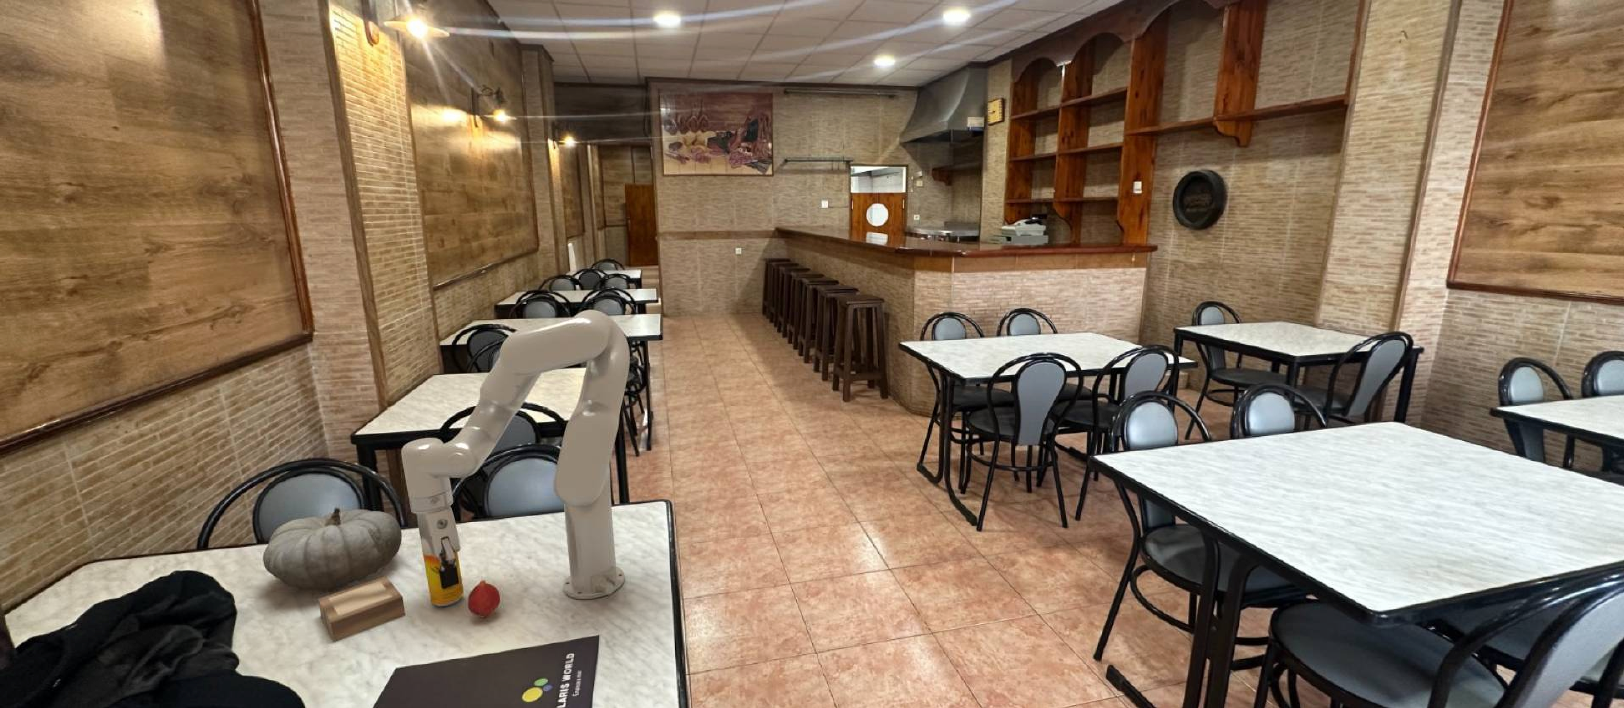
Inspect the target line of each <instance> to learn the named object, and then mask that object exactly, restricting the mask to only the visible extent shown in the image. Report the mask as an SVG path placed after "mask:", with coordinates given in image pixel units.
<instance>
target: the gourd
mask: <svg viewBox="0 0 1624 708" xmlns="http://www.w3.org/2000/svg"><path fill="white" fill-rule="evenodd" d="M402 537H403V535H402V529H401V526H400V524H399V522H398V520H397V519H396V518H395V517H394V516H393V515H391V514H389V513H387V512H383V511H379V510H378V511H376V510H373V511H372V510H368V509H361V508H359V509H358V508H356V509H344V510H341V508H340V507H339V506H335V508H334V510H333V512H331V513H328V514H325V515H324V516H318V517H316V516H312V517H311V516H310V517H304V518H297V519H291V520H290V521H287V522H286V523H284V524H282V525H281V526H278V527H277V528H276V529H275V530H274V532H273V533H272V534H271V536H270V538H269V541H268V544H267V546H266V547H265V548H264V551H263V555H262V560H263V561H262V562H263V566H264V568H265V570H266V571H267V572H268V573H269V574H271V575H272V576H274V577H275V578H276V579H277V580H279V581H280V582H281V583H282V584H283V585H285V586H287V587H290V588H293V589H296V590H302V591H311V590H312V591H314V592H332V591H333V592H334V591H336V590H338V589H344V588H345V587H347V586H349V584H353V583H356V582H358V581H359V582H360V581H362V580H364V579H366V578H368V577H370V576H371V575H373V574H375V573H377V572H378V571H379V570H381V569H383V568H385V567H386V566H387V565H389V563H390V562H391V561H393V559H394V558H395V557H396V555H397V554H398V552H399V550H400V548H401V545H402V541H403V540H402Z"/></svg>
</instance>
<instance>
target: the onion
mask: <svg viewBox="0 0 1624 708" xmlns="http://www.w3.org/2000/svg"><path fill="white" fill-rule="evenodd" d="M500 603H501V593H500V591H499V589H497V587H496V586H494V585H492V584H491V583H487V582H486V580H485V579H482V580H481V581H479V583H478V584H477V585H475V586H474V588H472V590H471V591H470V593H469V595H468V598H467V607H468V610H469V612H470V613H471V614H472V615H475V616H477V617H483V618H488V617H490V616H491V615H492V614H493V613H494V611H496V609H497V608H498V607H499V605H500Z"/></svg>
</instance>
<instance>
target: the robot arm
mask: <svg viewBox="0 0 1624 708" xmlns="http://www.w3.org/2000/svg"><path fill="white" fill-rule="evenodd" d="M630 357H631V356H630V346H629V344H628V340H627V337H626V335H625V333H624V331H623V330H622V328H621V327H620V325H619V324H618V323H617V322H616V321H615V320H614V319H613V318H611V317H610V316H609V315H608V314H606V313H604V312H603V311H600V310H596V309H587V310H583V311H581V312H579V313H577V314H576V315H574V316H573V317H572V318H571V319H568V320H565V321H561V322H557V323H554V324H552V325H551V324H550V325H547V326H544V327H539V326H534V325H528V326H524V327H520V328H519V329H517V330H515V331H514V332H512V333H511V334H510V335H508V336H507V337H506V338H505V340H503V343H502V345H501V347H500V350H499V357H498V359H497V360H496V362H495V363H494V365H493V366H492V368H491V370H490V372H489V373H488V374H487V376H486V377H485V379H484V380H483V382H482V383H481V385H480V387H479V399H478V402H477V404H476V406H475V408H474V409H473V411H472V412H471V414H470V415H469V417H468V419H467V421H466V422H465V423H464V426H462V428H461V430H460V431H459V433H458V434H457V435H456V436H454V437H453V439H451V440H450V441H448V442H445V443H444V442H443V441H442V440H441V439H439V438H437V437H425V438H419V439H415V440H412V441H409V442H408V443H406V444H404V445H403V447H402V448H401V450H400V452H401V454H400V455H401V461H402V466H403V471H404V476H405V477H404V478H405V484H406V489H407V493H408V499H409V501H408V502H409V506H410V511H411V513H413V514H416V518H417V525H418V532H419V537H420V541H421V540H422V536H423V538H424V539H426V541H427V543H428V545H429V548H430V551H431V553H432V556H433V557H435V558H437V559H438V563H439V566H440V571H439V576H440V582H441V587H442V588H443V589H446V588H448V587H451V586H453V585H456V584H458V583H459V578H458V572H457V566H456V560H455V555H454V552H453V550H455V551H457V553H458V552H460V551H461V542H460V536H459V532H458V528H457V524H456V520H455V516H454V512H453V510H452V507H451V505H453V503H454V498H453V492H452V484H451V480H450V478H454V479H456V478H457V479H458V478H459V479H460V478H468V477H469V476H472V475H474V474H475V473H476V472H477V471H478V470H479V469H480V468H481V466H482V465H483V464H484V462H485V461H486V459H487V458H488V457H489V456H490V454H491V453H492V452H493V451H494V448H495V447H496V446H497V443H498V442H499V441H500V439H501V437H502V436H503V434H504V433H505V430H506V429H507V427H508V426H509V424H510V423H511V421H512V419H513V418H514V417H515V415H516V414H517V413H518V412H519V411H520V409H521V407H522V406H523V404H524V403H525V401H526V399H528V396H529V394H530V392H531V391H532V390H533V388H534V386H535V385H536V383H537V381H538V379H540V377H541V375H542V374H544V373H548V372H553V371H555V370H560V369H563V368H567V367H569V366H571V367H572V366H574V365H578V364H581V363H586V367H585V368H586V369H585V372H584V375H583V381H582V385H581V389H580V393H579V397H578V401H577V403H576V405H575V409H574V410H573V411H572V414H571V415H570V417H569V419H568V421H567V423H566V427H565V431H564V434H563V439H562V442H561V446H560V451H559V454H558V455H559V456H558V460H557V462H556V467H555V472H554V475H553V480H552V481H553V482H552V483H553V484H552V485H553V491H554V495H555V496H556V497H557V499H558V500H559V501H560V502H561V503H562V504H563V509H564V524H565V535H566V543H567V555H568V562H569V563H568V564H569V573H570V575H569V576H567V578H566V579H565V580H564V582H563V590H564V593H565V594H566V595H567V596H569V597H570V598H572V599H579V600H591V599H597V598H601V597H605V596H607V595H611V594H612V593H614V592H615V591H616V590H618V589H620V587H622V585H623V584H624V583H625V578H626V577H625V572H624V570H622V569H621V568H620V567H618V566H617V560H616V548H615V537H614V535H615V534H614V525H613V524H614V522H613V508H612V499H611V498H612V496H611V495H612V493H611V467H610V461H611V457H612V454H613V450H614V446H615V442H616V438H617V434H618V430H619V423H620V413H621V407H622V404H623V399H624V395H625V390H626V385H627V381H628V380H627V379H628V377H629V369H630V361H631V359H630ZM451 546H452V547H453V548H452V547H451ZM452 549H453V550H452ZM442 551H444V553H445V554H443V555H440V553H441V552H442ZM444 557H446V560H445V561H444V564H443V561H442V558H444Z"/></svg>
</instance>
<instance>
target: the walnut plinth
mask: <svg viewBox="0 0 1624 708" xmlns="http://www.w3.org/2000/svg"><path fill="white" fill-rule="evenodd" d="M317 600H318V607H319V613H320V617H321V619H322V621H323V624H324V625H325V626H326V629H327V630H328V633H329V634H330V636H331V638H332V639H333V642H334V643H335V642H337V641H340V640H343V639H346V638H348V637H351V636H353V635H356V634H359V633H361V632H363V631H366V630H369V629H371V628H374V627H377V626H379V625H380V626H381V625H382V624H384V623H387V622H390V621H392V620H396V619H398V618H401V617H403V616H405V615H406V609H405V604H404V603H405V602H404V597H403V595H402V594H401V593H400V591H399V590H398V589H397V588H396V587H395V585H394V584H393V583H392V581H391V580H390V579H389V578H388V577H387V575H385V576H382V577H378V578H376V579H373V580H369V581H367V582H364V583H361V584H359V585H358V584H357V585H356V586H352V587H349V588H346V589H343V590H340V591H338V592H333V593H332V594H329V595H326V596H323V597H319V598H317Z"/></svg>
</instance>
